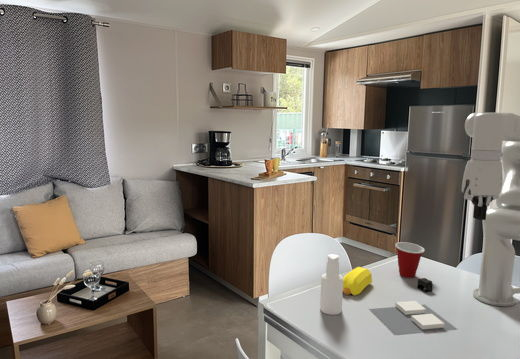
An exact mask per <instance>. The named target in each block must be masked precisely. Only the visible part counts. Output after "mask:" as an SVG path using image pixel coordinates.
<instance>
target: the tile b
mask: <svg viewBox="0 0 520 359" xmlns="http://www.w3.org/2000/svg"><path fill="white" fill-rule="evenodd" d="M411 320H412V321H413V322H414V323H415V324H417V325H418V326H419V327H420V328H421V329H422V330H427V329H438V328H444V324H445V323H443V322H442V321H441V320H440V319H438V318H437V317H436V316H434V315H433V314H422V315H411Z"/></svg>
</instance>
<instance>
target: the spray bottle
mask: <svg viewBox="0 0 520 359" xmlns="http://www.w3.org/2000/svg"><path fill="white" fill-rule="evenodd" d="M343 277H344V276H342V275H341V274H340V256H339V255H338V254H334V253H331V254H328V255H327V261H326V269H325V273H323V274H322V275H321V281H320V299H319V300H320V302H319V310H320V311H321V312H322V313H323V314H325V315H330V316H331V315H332V316H334V315H335V316H336V315H339V314H341V313H342V311H343V296H344V295H343V294H344V292H343Z"/></svg>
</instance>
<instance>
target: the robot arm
mask: <svg viewBox="0 0 520 359" xmlns="http://www.w3.org/2000/svg"><path fill="white" fill-rule="evenodd" d="M464 130H465V133H466V135H467V136H468V137H469V138H472V139H471V151H470V159H469V160H467V163H466V165H465V167H464V168H465V169H464V171H463V177H462V183H461V192H462V193H463V194H464V195H463V198H464V200H468V201H470V202H471V204H472V205H473V214H472V215H473V219H474V220H475V219H476V220H478V221H482V231H483V234H482V235H483V238H482V239H483V240H482V250H481V251H482V254H481V262H480V269H479V271H480V272H479V273H480V274H479V281H478V282H479V283H478V288H475V289H473V291H472V292H473V293H472V294H473V295H472V296H473V297H474V298H475V299H477V300H478V301H480V302H482V303H484V304H487V305H490V306H491V305H492V306H498V307H511V306H513V305H515V304H516V298H515V297H514V295H516V294H520V287H514V286H512V285H513V284H512V283H513V274H514V265H515V258H516V251H515V247H514V246H513V244H512V242H511V241H510V240H513V241H514V240H515V241H520V115H519V114H518V115H517V114H515V113H512V112H473V113H470V114H469V115H468V116H467V118H466V119H465V122H464ZM503 141H505V142H506V141H507V142H506V143H504V144H503ZM503 174H504V175H503ZM493 201H495V204H496V207H492V208H489V209H488V207H489V206H490V205H491V203H492V202H493Z"/></svg>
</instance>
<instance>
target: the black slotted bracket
mask: <svg viewBox="0 0 520 359" xmlns="http://www.w3.org/2000/svg"><path fill="white" fill-rule="evenodd" d="M416 287H417V289H418V290H420V291H422V292H424V293H426V294H427V293H432V292H433V288H434V287H433V281H432V280H430V279H428V278H426V277H422V278H418V280H417V286H416Z"/></svg>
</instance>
